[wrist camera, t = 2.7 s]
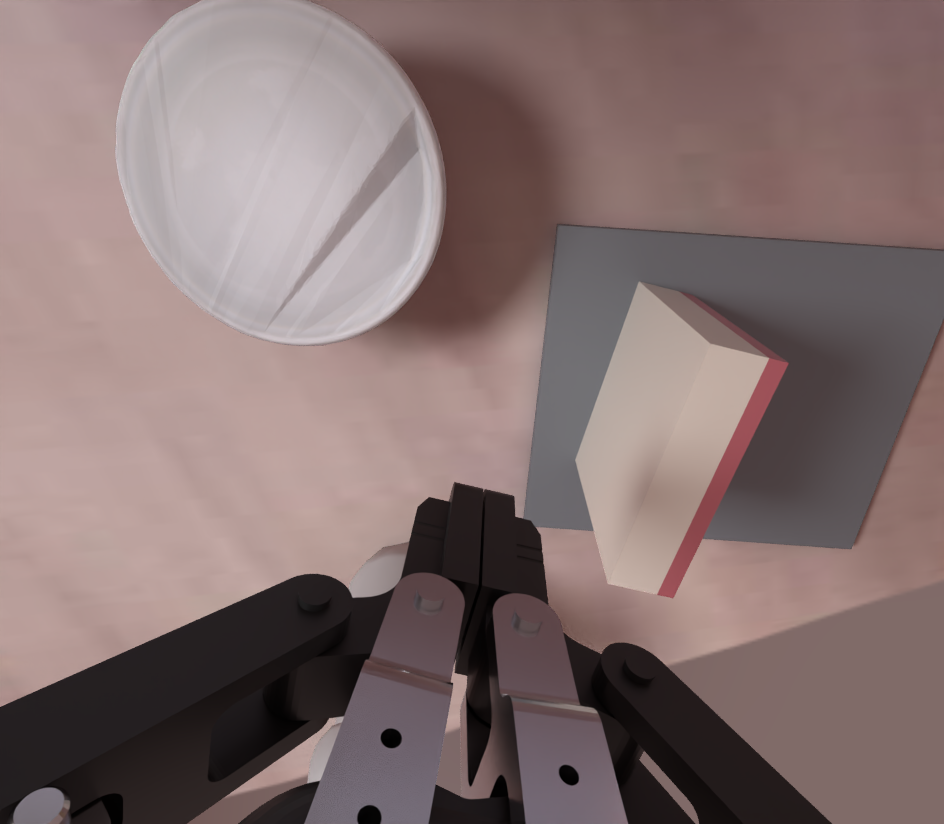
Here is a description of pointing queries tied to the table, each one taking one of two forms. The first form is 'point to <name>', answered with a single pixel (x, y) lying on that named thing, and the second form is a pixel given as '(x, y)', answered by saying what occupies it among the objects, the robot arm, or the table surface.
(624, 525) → the tile
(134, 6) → the table surface
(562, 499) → the slate mat
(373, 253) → the ramekin
